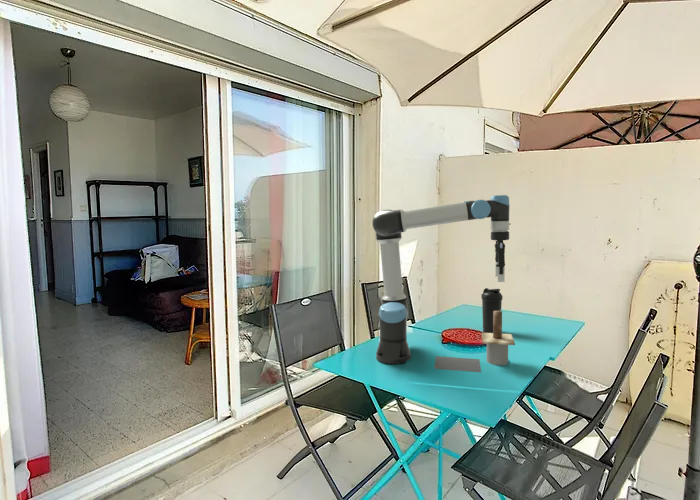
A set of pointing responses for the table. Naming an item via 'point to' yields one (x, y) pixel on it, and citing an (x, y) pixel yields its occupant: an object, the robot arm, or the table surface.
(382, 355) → the robot arm
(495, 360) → the cup
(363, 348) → the table surface
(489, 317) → the water bottle
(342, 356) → the table surface
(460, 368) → the mat
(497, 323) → the lid
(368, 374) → the table surface
